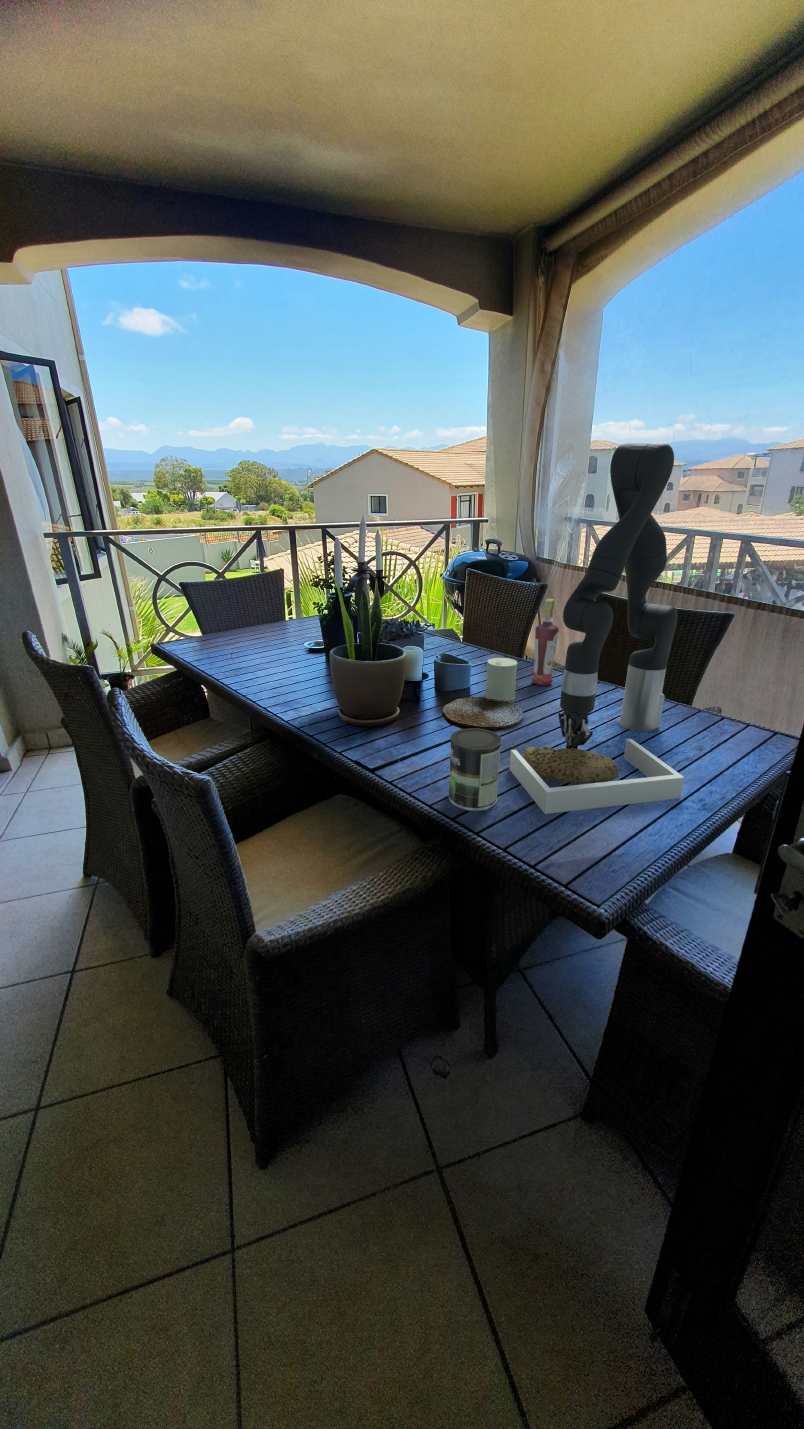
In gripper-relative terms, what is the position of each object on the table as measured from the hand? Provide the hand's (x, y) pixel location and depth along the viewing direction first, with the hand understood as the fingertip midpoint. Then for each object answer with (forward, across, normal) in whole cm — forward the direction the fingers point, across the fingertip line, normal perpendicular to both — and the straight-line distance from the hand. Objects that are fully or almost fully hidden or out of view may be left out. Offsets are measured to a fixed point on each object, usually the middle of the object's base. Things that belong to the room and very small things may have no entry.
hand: (570, 757), depth 132 cm
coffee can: (+2, -11, +27) cm, 30 cm away
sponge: (+2, -6, +4) cm, 7 cm away
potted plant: (+2, +39, +43) cm, 58 cm away
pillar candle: (+2, +46, +1) cm, 46 cm away
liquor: (+2, +55, -17) cm, 58 cm away
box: (+2, -10, 0) cm, 10 cm away
